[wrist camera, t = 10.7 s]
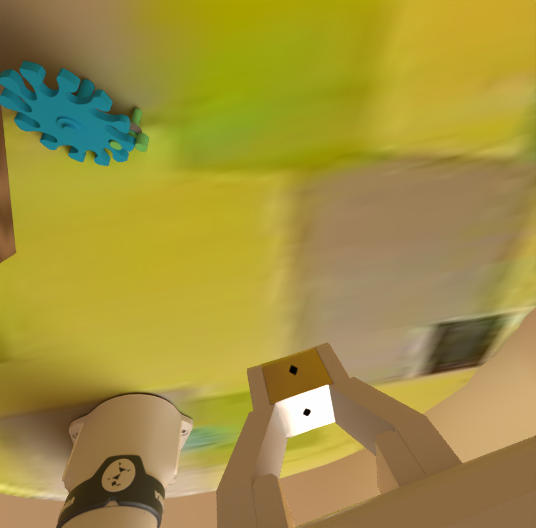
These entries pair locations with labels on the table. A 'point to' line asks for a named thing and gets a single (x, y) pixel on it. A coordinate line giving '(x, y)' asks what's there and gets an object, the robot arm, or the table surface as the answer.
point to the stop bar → (5, 204)
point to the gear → (71, 115)
